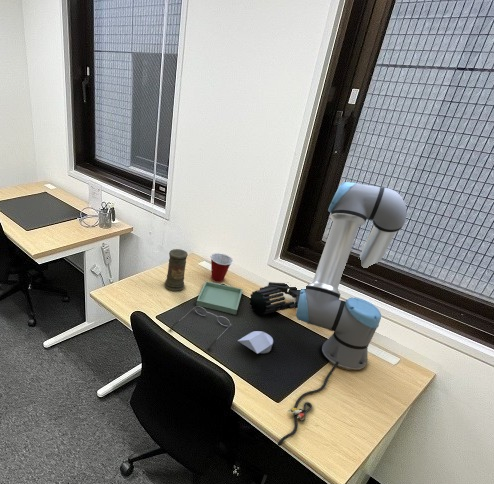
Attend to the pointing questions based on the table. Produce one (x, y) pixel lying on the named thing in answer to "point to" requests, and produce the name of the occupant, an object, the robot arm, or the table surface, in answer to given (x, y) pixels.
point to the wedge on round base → (257, 342)
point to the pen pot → (266, 301)
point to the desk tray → (219, 297)
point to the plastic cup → (220, 266)
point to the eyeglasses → (205, 315)
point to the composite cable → (301, 411)
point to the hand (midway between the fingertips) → (270, 299)
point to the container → (176, 270)
